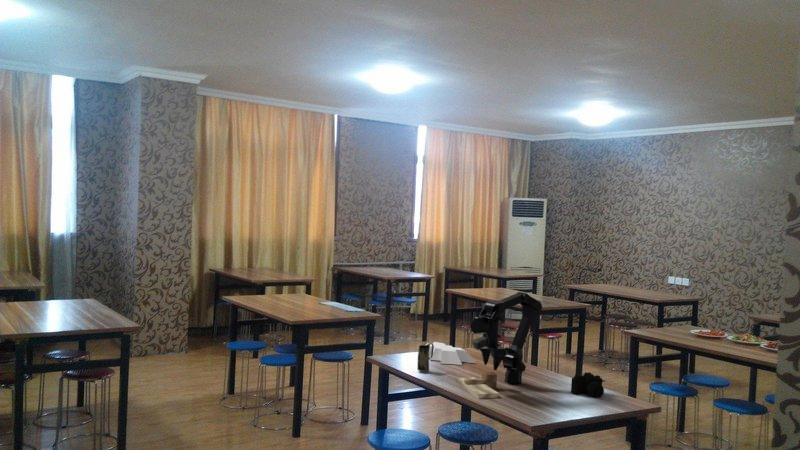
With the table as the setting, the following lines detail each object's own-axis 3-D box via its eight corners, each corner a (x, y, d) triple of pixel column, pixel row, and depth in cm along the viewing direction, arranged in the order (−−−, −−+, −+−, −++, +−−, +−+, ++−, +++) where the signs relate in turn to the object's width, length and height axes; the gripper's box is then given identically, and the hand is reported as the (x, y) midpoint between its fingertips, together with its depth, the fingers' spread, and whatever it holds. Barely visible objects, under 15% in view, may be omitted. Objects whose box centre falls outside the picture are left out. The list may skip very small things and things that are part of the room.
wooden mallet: (492, 385, 276) (492, 372, 276) (496, 388, 272) (497, 374, 272) (462, 387, 272) (463, 373, 271) (466, 389, 268) (467, 375, 268)
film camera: (580, 399, 262) (581, 378, 261) (567, 392, 271) (569, 372, 271) (612, 398, 266) (613, 377, 265) (599, 391, 275) (600, 371, 275)
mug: (421, 371, 294) (423, 346, 293) (414, 369, 298) (416, 343, 298) (435, 370, 298) (436, 344, 298) (428, 367, 303) (429, 342, 302)
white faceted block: (406, 352, 334) (406, 342, 333) (433, 348, 346) (434, 338, 346) (453, 367, 307) (454, 356, 307) (481, 362, 320) (481, 351, 319)
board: (473, 381, 281) (474, 377, 281) (498, 398, 258) (499, 393, 258) (455, 382, 278) (455, 377, 278) (478, 399, 255) (478, 394, 255)
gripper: (465, 327, 279) (464, 362, 279) (484, 336, 261) (482, 374, 262) (488, 327, 282) (487, 361, 283) (508, 335, 265) (506, 372, 265)
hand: (490, 367), depth 273 cm, fingers open, 9 cm apart
